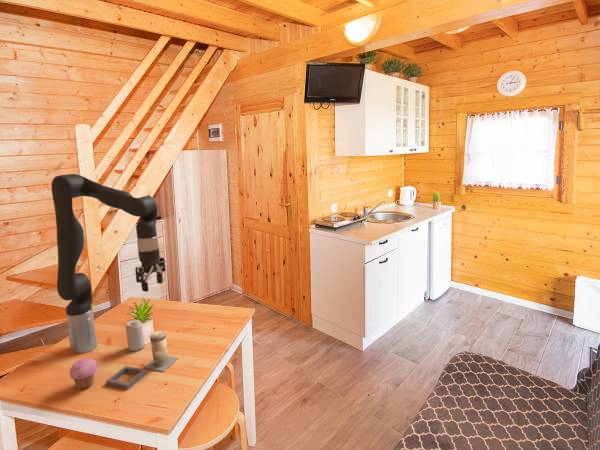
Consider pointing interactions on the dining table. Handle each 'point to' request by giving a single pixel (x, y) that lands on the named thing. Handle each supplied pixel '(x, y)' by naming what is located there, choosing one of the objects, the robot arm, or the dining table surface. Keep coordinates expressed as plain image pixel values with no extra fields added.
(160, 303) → the dining table surface
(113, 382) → the socket collar
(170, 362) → the mat
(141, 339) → the beverage can
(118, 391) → the dining table surface
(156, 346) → the beige tall cylinder
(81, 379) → the cupcake
